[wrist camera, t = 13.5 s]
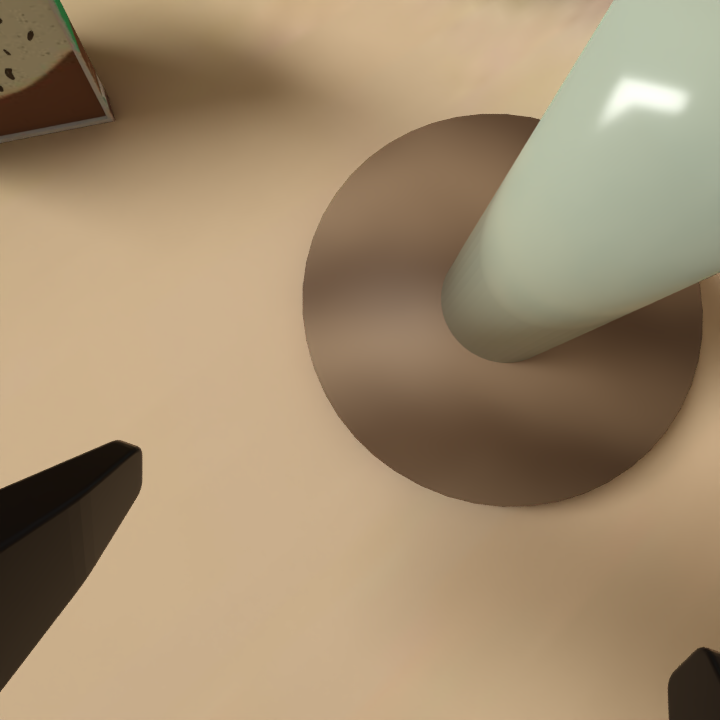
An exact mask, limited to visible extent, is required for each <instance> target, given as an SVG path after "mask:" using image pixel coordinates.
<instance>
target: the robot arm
mask: <svg viewBox="0 0 720 720" xmlns="http://www.w3.org/2000/svg"><path fill="white" fill-rule="evenodd" d="M141 486H142V451H141V449H140V448H139V447H138V446H135V445H133V444H130V443H127V442H124V441H121V440H116V441H112V442H109V443H107V444H105V445H102V446H100V447H98V448H95V449H93V450H91V451H88V452H86V453H83V454H81V455H79V456H76V457H74V458H72V459H69V460H67V461H65V462H62V463H60V464H58V465H55V466H53V467H51V468H48V469H46V470H44V471H41V472H39V473H37V474H34V475H32V476H30V477H27V478H25V479H23V480H20V481H18V482H16V483H13V484H11V485H8V486H6V487H4V488H1V489H0V692H1V690H2V689H3V688H4V686H5V685H6V684H7V683H8V681H9V680H10V679H11V677H12V676H13V675H14V673H15V672H16V671H17V669H18V668H19V667H20V666H21V664H22V663H23V662H24V660H25V659H26V658H27V656H28V655H29V654H30V653H31V651H32V650H33V649H34V647H35V646H36V645H37V643H38V642H39V641H40V639H41V638H42V637H43V636H44V634H45V633H46V632H47V630H48V629H49V628H50V626H51V625H52V624H53V622H54V621H55V620H56V619H57V617H58V616H59V615H60V613H61V612H62V611H63V609H64V608H65V607H66V605H67V604H68V603H69V602H70V600H71V599H72V598H73V596H74V595H75V594H76V592H77V591H78V590H79V588H80V587H81V586H82V584H83V583H84V581H85V580H86V579H87V577H88V576H89V574H90V573H91V571H92V569H93V568H94V566H95V565H96V563H97V562H98V560H99V558H100V557H101V555H102V553H103V552H104V550H105V548H106V547H107V545H108V544H109V542H110V540H111V539H112V537H113V535H114V534H115V532H116V531H117V529H118V527H119V526H120V524H121V522H122V521H123V519H124V518H125V516H126V514H127V513H128V511H129V509H130V508H131V506H132V504H133V503H134V501H135V500H136V498H137V496H138V494H139V492H140V489H141ZM668 709H669V720H720V652H718V651H715V650H712V649H709V648H705V647H702V648H698V649H697V650H695V651H694V652H693V653H692V654H691V655H690V656H689V657H688V658H687V659H686V660H685V661H684V662H683V663H682V664H681V665H680V666H679V667H678V668H677V669H676V670H675V671H674V672H673V673H672V675H671V677H670V679H669V683H668Z"/></svg>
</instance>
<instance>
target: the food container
mask: <svg viewBox="0 0 720 720" xmlns="http://www.w3.org/2000/svg"><path fill="white" fill-rule="evenodd" d="M111 121H115V119H114V116H113V112H112V109H111V105H110V102H109V98H108V96H107V94H106V92H105V90H104V88H103V86H102V84H101V82H100V80H99V78H98V76H97V74H96V72H95V70H94V68H93V66H92V64H91V62H90V60H89V58H88V56H87V54H86V52H85V50H84V48H83V46H82V44H81V42H80V40H79V38H78V36H77V34H76V32H75V30H74V28H73V26H72V24H71V22H70V20H69V18H68V16H67V14H66V12H65V10H64V8H63V6H62V4H61V2H60V0H0V143H2V142H8V141H13V140H18V139H23V138H28V137H33V136H39V135H44V134H49V133H54V132H59V131H64V130H69V129H75V128H80V127H85V126H90V125H95V124H100V123H106V122H111Z"/></svg>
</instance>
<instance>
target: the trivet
mask: <svg viewBox="0 0 720 720" xmlns="http://www.w3.org/2000/svg"><path fill="white" fill-rule="evenodd" d="M539 122H540V120H539V119H535V118H531V117H524V116H516V115H508V114H478V115H470V116H462V117H455V118H451V119H447V120H443V121H439V122H435V123H432V124H429V125H427V126H424V127H421V128H419V129H416V130H414V131H411V132H409V133H407V134H405V135H403V136H402V137H400V138H398V139H396V140H394V141H392V142H391V143H389V144H387V145H386V146H385V147H383V148H382V149H380V150H379V151H378V152H376V153H375V154H374V155H372V156H371V157H369V158H368V159H367V160H366V161H365V162H364V163H363V164H362V165H361V166H360V167H359V168H358V169H357V170H356V171H355V172H354V173H352V174H351V176H350V177H349V178H348V179H347V181H346V182H345V183H344V184H343V186H342V187H341V188H340V189H339V190H338V192H337V193H336V194H335V196H334V198H333V199H332V201H331V203H330V204H329V206H328V208H327V209H326V211H325V213H324V214H323V216H322V218H321V221H320V223H319V225H318V228H317V230H316V232H315V235H314V237H313V240H312V244H311V247H310V251H309V254H308V258H307V262H306V268H305V275H304V283H303V319H304V326H305V334H306V341H307V344H308V348H309V351H310V355H311V359H312V362H313V366H314V369H315V371H316V374H317V376H318V378H319V381H320V383H321V385H322V388H323V390H324V392H325V394H326V396H327V398H328V399H329V401H330V403H331V404H332V406H333V408H334V410H335V411H336V413H337V415H338V416H339V417H340V419H341V420H342V421H343V423H344V424H345V425H346V426H347V428H348V429H349V430H350V431H351V433H352V434H353V435H354V437H355V438H356V439H357V440H359V441H360V442H361V443H362V444H363V445H364V446H365V447H366V448H367V449H368V450H369V451H370V452H371V453H372V454H373V455H374V456H375V457H377V458H378V459H379V460H381V461H382V462H383V463H385V464H386V465H387V466H389V467H390V468H391V469H393V470H394V471H396V472H397V473H399V474H401V475H403V476H405V477H406V478H408V479H410V480H412V481H413V482H415V483H417V484H419V485H421V486H423V487H425V488H428V489H430V490H433V491H435V492H438V493H440V494H443V495H445V496H448V497H452V498H456V499H460V500H464V501H468V502H471V503H476V504H484V505H493V506H502V507H507V506H534V505H540V504H546V503H552V502H558V501H561V500H565V499H568V498H571V497H574V496H578V495H581V494H584V493H586V492H588V491H590V490H592V489H595V488H597V487H599V486H601V485H603V484H605V483H607V482H609V481H610V480H612V479H614V478H615V477H617V476H618V475H620V474H621V473H623V472H624V471H626V470H627V469H629V468H630V467H631V466H633V465H634V464H635V463H636V462H637V461H638V460H639V459H641V458H642V457H643V456H644V455H645V454H646V453H647V452H648V451H650V449H651V448H652V447H653V446H654V445H655V444H656V442H657V441H658V440H659V439H660V438H661V437H662V435H663V434H664V433H665V432H666V431H667V429H668V428H669V426H670V424H671V423H672V421H673V420H674V418H675V417H676V415H677V413H678V412H679V410H680V409H681V406H682V404H683V402H684V400H685V398H686V395H687V393H688V391H689V389H690V387H691V384H692V381H693V377H694V374H695V370H696V367H697V364H698V360H699V353H700V346H701V340H702V314H703V310H702V301H701V292H700V284H699V282H697V283H695V284H693V285H691V286H689V287H686V288H684V289H682V290H680V291H678V292H675V293H673V294H671V295H669V296H667V297H664V298H662V299H660V300H658V301H655V302H653V303H651V304H649V305H647V306H644V307H642V308H640V309H638V310H636V311H633V312H631V313H629V314H627V315H625V316H622V317H620V318H618V319H616V320H613V321H611V322H609V323H607V324H605V325H602V326H600V327H598V328H596V329H594V330H591V331H589V332H587V333H585V334H583V335H580V336H578V337H576V338H574V339H572V340H569V341H567V342H565V343H563V344H560V345H558V346H556V347H554V348H552V349H549V350H547V351H545V352H543V353H541V354H538V355H536V356H534V357H532V358H530V359H527V360H523V361H520V362H514V363H500V362H494V361H489V360H486V359H483V358H481V357H479V356H477V355H475V354H473V353H471V352H470V351H468V350H467V349H466V348H464V347H463V346H462V345H461V344H460V343H459V342H458V341H457V340H456V338H455V337H454V336H453V334H452V333H451V331H450V330H449V328H448V326H447V324H446V322H445V319H444V316H443V311H442V306H441V292H442V286H443V282H444V279H445V276H446V274H447V272H448V270H449V268H450V267H451V265H452V263H453V262H454V260H455V259H456V257H457V255H458V254H459V252H460V250H461V249H462V247H463V246H464V244H465V242H466V241H467V239H468V237H469V236H470V234H471V232H472V231H473V229H474V228H475V226H476V224H477V223H478V221H479V219H480V218H481V216H482V215H483V213H484V211H485V210H486V208H487V206H488V205H489V203H490V201H491V200H492V198H493V197H494V195H495V193H496V192H497V190H498V188H499V187H500V185H501V184H502V182H503V180H504V179H505V177H506V175H507V174H508V172H509V170H510V169H511V167H512V166H513V164H514V162H515V161H516V159H517V157H518V156H519V154H520V153H521V151H522V149H523V148H524V146H525V144H526V143H527V141H528V139H529V138H530V136H531V135H532V133H533V131H534V130H535V128H536V126H537V125H538V123H539Z"/></svg>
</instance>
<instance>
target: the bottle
mask: <svg viewBox="0 0 720 720" xmlns="http://www.w3.org/2000/svg"><path fill="white" fill-rule="evenodd" d="M717 273H720V0H614V1H613V2H612V4H611V6H610V7H609V9H608V11H607V12H606V14H605V15H604V17H603V19H602V20H601V22H600V24H599V25H598V27H597V29H596V30H595V32H594V33H593V35H592V37H591V38H590V40H589V42H588V43H587V45H586V46H585V48H584V50H583V51H582V53H581V55H580V56H579V58H578V60H577V61H576V63H575V64H574V66H573V68H572V69H571V71H570V73H569V74H568V76H567V77H566V79H565V81H564V82H563V84H562V86H561V87H560V89H559V91H558V92H557V94H556V95H555V97H554V99H553V100H552V102H551V104H550V105H549V107H548V108H547V110H546V112H545V113H544V115H543V117H542V118H541V120H540V122H539V123H538V125H537V126H536V128H535V130H534V131H533V133H532V135H531V136H530V138H529V139H528V141H527V143H526V144H525V146H524V148H523V149H522V151H521V153H520V154H519V156H518V157H517V159H516V161H515V162H514V164H513V166H512V167H511V169H510V170H509V172H508V174H507V175H506V177H505V179H504V180H503V182H502V184H501V185H500V187H499V188H498V190H497V192H496V193H495V195H494V197H493V198H492V200H491V201H490V203H489V205H488V206H487V208H486V210H485V211H484V213H483V215H482V216H481V218H480V219H479V221H478V223H477V224H476V226H475V228H474V229H473V231H472V232H471V234H470V236H469V237H468V239H467V241H466V242H465V244H464V246H463V247H462V249H461V250H460V252H459V254H458V255H457V257H456V259H455V260H454V262H453V263H452V265H451V267H450V268H449V270H448V272H447V274H446V276H445V279H444V282H443V286H442V292H441V306H442V311H443V316H444V319H445V322H446V324H447V326H448V328H449V330H450V331H451V333H452V334H453V336H454V337H455V338H456V340H457V341H458V342H459V343H460V344H461V345H462V346H463V347H464V348H466V349H467V350H468V351H470V352H471V353H473V354H475V355H477V356H479V357H481V358H483V359H486V360H489V361H494V362H500V363H514V362H520V361H523V360H527V359H530V358H532V357H534V356H536V355H538V354H541V353H543V352H545V351H547V350H549V349H552V348H554V347H556V346H558V345H560V344H563V343H565V342H567V341H569V340H572V339H574V338H576V337H578V336H580V335H583V334H585V333H587V332H589V331H591V330H594V329H596V328H598V327H600V326H602V325H605V324H607V323H609V322H611V321H613V320H616V319H618V318H620V317H622V316H625V315H627V314H629V313H631V312H633V311H636V310H638V309H640V308H642V307H644V306H647V305H649V304H651V303H653V302H655V301H658V300H660V299H662V298H664V297H667V296H669V295H671V294H673V293H675V292H678V291H680V290H682V289H684V288H686V287H689V286H691V285H693V284H695V283H697V282H700V281H702V280H704V279H706V278H709V277H711V276H713V275H715V274H717Z"/></svg>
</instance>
